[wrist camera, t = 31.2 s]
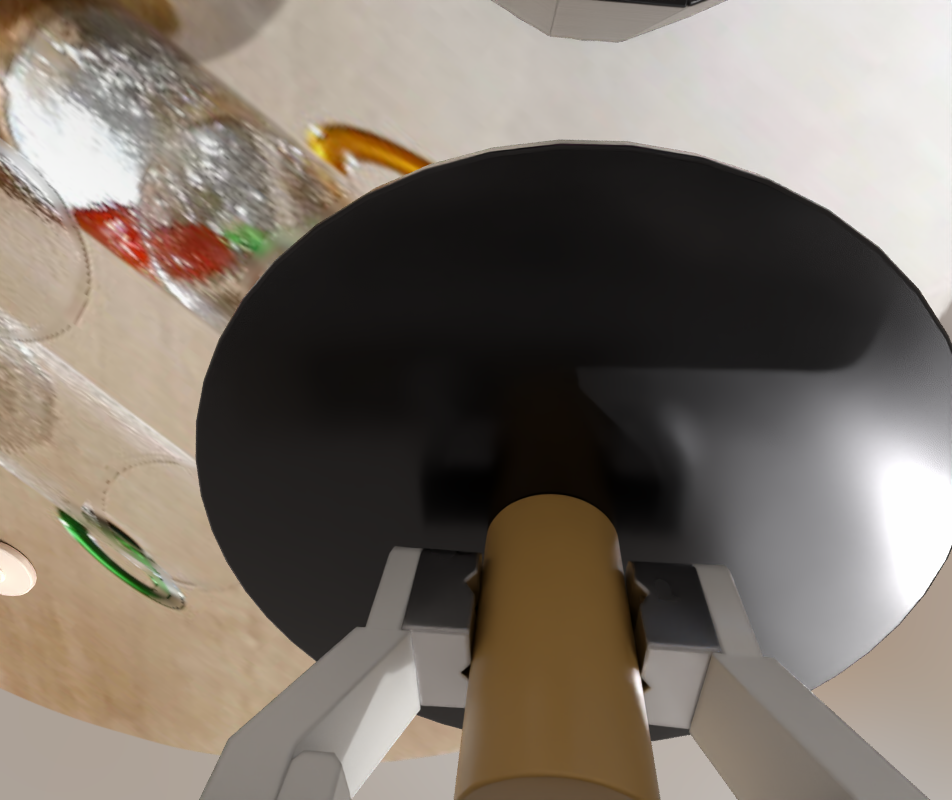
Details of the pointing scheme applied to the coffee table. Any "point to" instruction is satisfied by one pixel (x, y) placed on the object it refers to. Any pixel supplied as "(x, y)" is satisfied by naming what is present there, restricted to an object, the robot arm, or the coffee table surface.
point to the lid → (582, 432)
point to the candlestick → (15, 572)
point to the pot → (603, 16)
